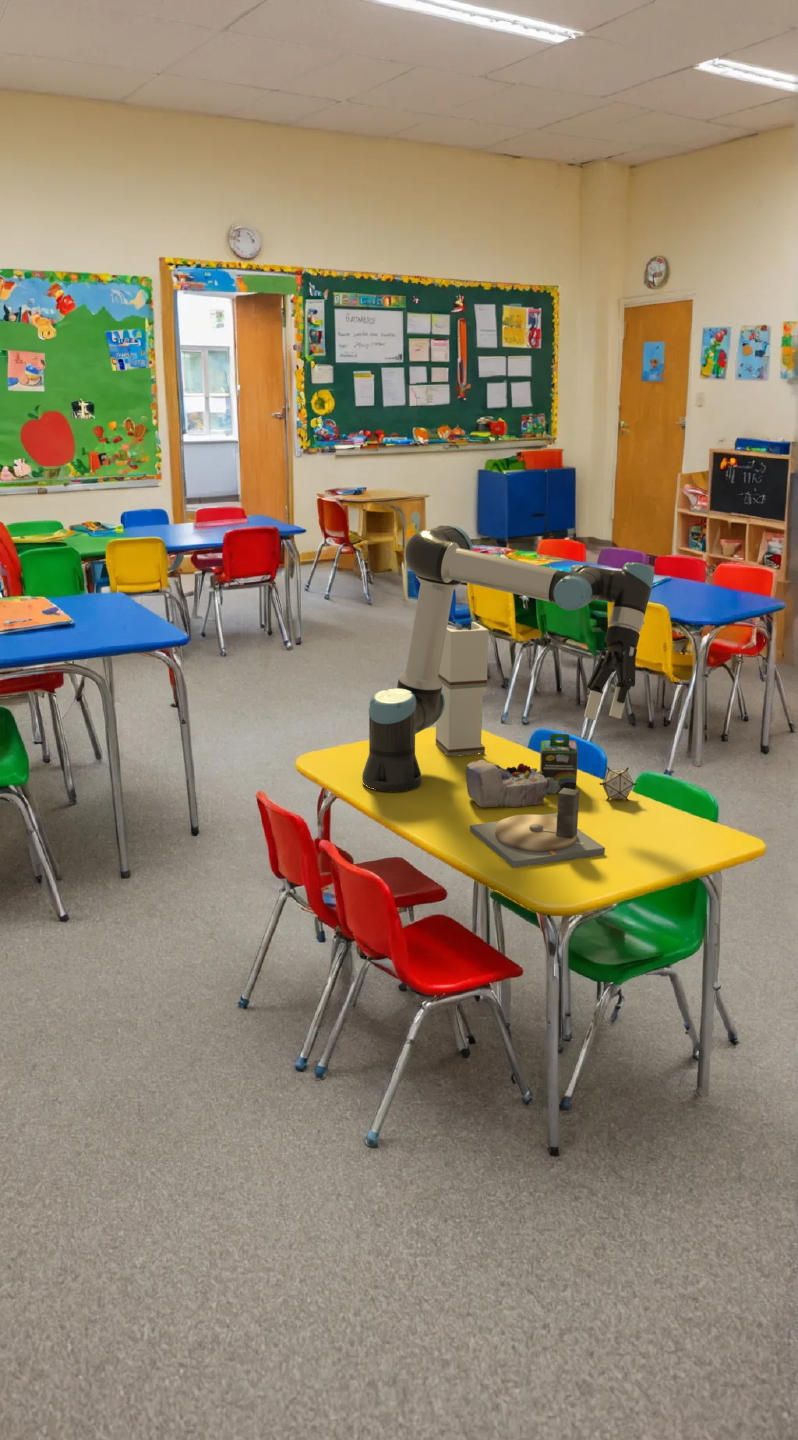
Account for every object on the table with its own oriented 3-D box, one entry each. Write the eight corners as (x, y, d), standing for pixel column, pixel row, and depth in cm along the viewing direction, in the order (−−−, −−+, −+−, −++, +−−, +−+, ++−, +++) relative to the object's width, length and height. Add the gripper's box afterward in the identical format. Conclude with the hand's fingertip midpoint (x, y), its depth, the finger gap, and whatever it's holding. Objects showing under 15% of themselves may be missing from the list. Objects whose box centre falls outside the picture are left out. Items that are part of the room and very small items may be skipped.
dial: (483, 842, 244) (484, 792, 241) (511, 815, 260) (513, 768, 257) (562, 857, 237) (565, 806, 234) (587, 828, 252) (589, 780, 249)
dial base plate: (469, 831, 255) (470, 824, 254) (555, 819, 263) (555, 812, 262) (513, 868, 235) (513, 860, 235) (604, 854, 243) (604, 846, 242)
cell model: (460, 756, 273) (532, 749, 281) (458, 797, 276) (529, 789, 284) (484, 771, 262) (559, 764, 269) (482, 815, 265) (556, 806, 272)
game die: (620, 816, 275) (626, 794, 267) (590, 798, 279) (595, 776, 271) (638, 791, 280) (645, 769, 272) (609, 774, 283) (615, 751, 275)
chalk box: (574, 783, 287) (577, 728, 283) (576, 795, 279) (579, 738, 275) (538, 781, 288) (541, 726, 284) (539, 793, 280) (542, 737, 275)
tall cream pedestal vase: (484, 753, 310) (488, 629, 300) (448, 756, 307) (451, 631, 298) (470, 742, 321) (474, 621, 311) (435, 744, 318) (437, 623, 308)
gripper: (664, 628, 247) (641, 721, 246) (614, 639, 272) (593, 723, 270) (634, 618, 246) (611, 711, 244) (587, 630, 270) (565, 714, 268)
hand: (601, 717), depth 257 cm, fingers open, 13 cm apart
